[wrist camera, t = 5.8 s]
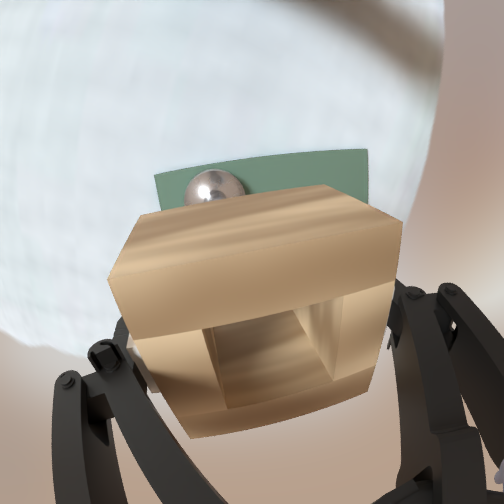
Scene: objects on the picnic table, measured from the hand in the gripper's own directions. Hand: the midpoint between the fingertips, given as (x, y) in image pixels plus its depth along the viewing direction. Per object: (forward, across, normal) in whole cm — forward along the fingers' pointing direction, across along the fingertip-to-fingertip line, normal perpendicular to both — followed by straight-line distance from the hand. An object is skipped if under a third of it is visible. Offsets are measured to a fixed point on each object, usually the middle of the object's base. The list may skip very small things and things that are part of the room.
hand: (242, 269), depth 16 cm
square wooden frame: (-1, 0, 0) cm, 1 cm away
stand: (+19, 0, 0) cm, 19 cm away
